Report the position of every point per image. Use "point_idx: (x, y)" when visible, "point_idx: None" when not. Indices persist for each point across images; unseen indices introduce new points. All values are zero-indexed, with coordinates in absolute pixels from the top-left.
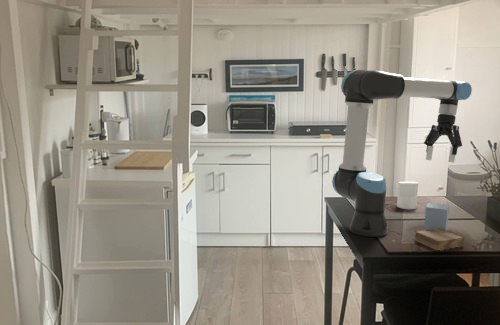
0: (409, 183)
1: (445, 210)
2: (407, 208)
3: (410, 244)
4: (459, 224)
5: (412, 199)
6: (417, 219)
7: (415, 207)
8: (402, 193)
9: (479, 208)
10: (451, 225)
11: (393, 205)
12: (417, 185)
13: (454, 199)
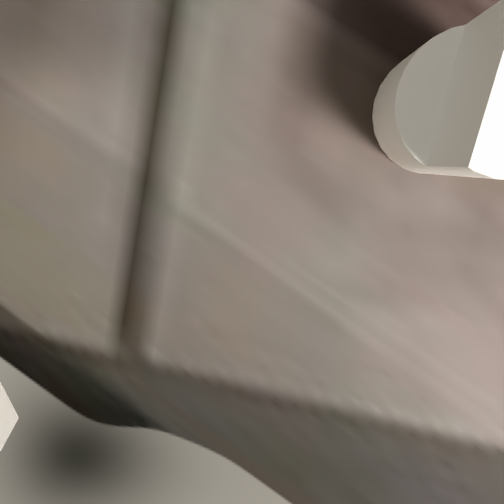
0: (493, 80)
1: None
2: (381, 85)
3: None
4: (48, 207)
5: (389, 106)
6: (166, 22)
7: (381, 146)
8: (466, 41)
9: (290, 487)
10: (37, 153)
11: None
12: (460, 162)
13: (484, 481)
